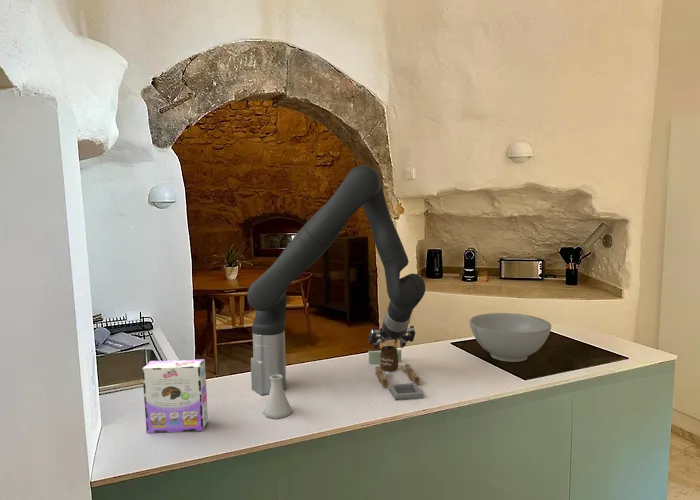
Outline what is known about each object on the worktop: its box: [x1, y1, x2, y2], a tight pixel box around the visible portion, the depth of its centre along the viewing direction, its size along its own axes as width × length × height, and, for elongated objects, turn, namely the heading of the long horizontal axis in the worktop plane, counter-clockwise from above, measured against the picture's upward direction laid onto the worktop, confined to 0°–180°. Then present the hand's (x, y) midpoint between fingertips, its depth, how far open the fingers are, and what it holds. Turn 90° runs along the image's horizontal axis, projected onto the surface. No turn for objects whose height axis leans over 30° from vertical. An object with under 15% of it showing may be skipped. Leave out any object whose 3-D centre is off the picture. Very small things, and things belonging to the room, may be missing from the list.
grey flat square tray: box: [388, 382, 424, 401], centre depth 144 cm, size 8×8×1 cm
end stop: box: [367, 348, 402, 365], centre depth 170 cm, size 2×11×4 cm, turn 98°
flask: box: [262, 374, 293, 420], centre depth 132 cm, size 7×7×10 cm
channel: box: [374, 363, 420, 389], centre depth 155 cm, size 12×11×2 cm
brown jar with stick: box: [379, 339, 399, 372], centre depth 164 cm, size 6×6×12 cm
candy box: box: [141, 358, 209, 434], centre depth 124 cm, size 14×6×16 cm, turn 92°
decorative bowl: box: [469, 312, 552, 363], centre depth 175 cm, size 27×27×12 cm
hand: (388, 346), depth 165 cm, fingers open, 8 cm apart
